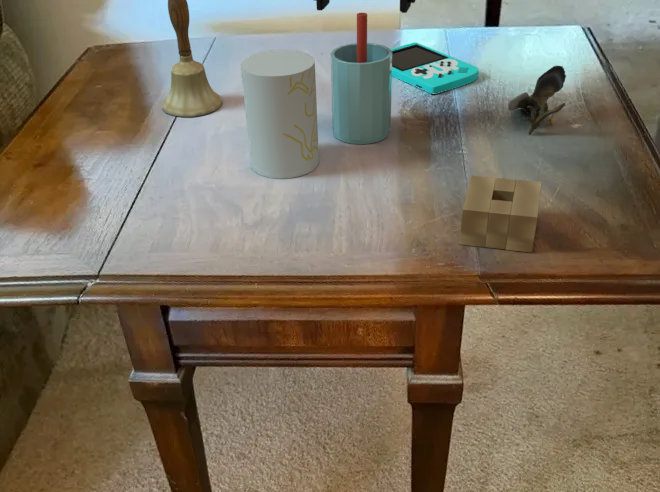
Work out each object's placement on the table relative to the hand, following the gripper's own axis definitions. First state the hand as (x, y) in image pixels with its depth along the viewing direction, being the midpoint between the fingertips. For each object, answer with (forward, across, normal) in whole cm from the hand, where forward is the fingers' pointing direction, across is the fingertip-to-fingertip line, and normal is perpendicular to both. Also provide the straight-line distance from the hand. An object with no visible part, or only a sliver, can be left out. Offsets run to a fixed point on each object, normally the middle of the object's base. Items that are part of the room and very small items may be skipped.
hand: (363, 8), depth 87 cm
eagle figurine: (+16, +20, +7) cm, 27 cm away
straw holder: (+16, +18, -20) cm, 31 cm away
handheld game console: (+15, +3, +22) cm, 27 cm away
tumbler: (+15, -1, 0) cm, 15 cm away
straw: (+15, 0, 0) cm, 15 cm away
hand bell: (+15, -26, +4) cm, 30 cm away
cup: (+15, -8, -10) cm, 20 cm away
